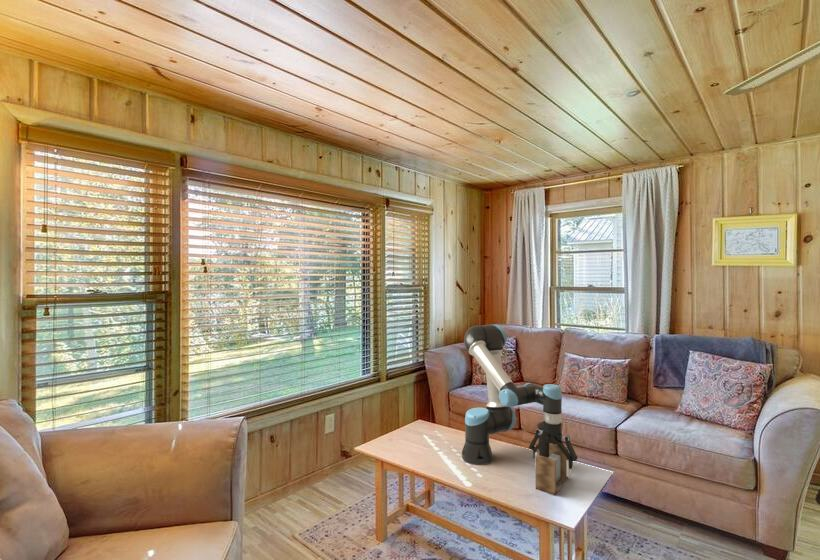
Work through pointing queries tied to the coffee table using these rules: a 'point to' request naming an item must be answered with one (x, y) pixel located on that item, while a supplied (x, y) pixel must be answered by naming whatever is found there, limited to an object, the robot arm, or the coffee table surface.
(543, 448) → the container
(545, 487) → the brown cabinet body
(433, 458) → the coffee table surface
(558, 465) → the door slab
